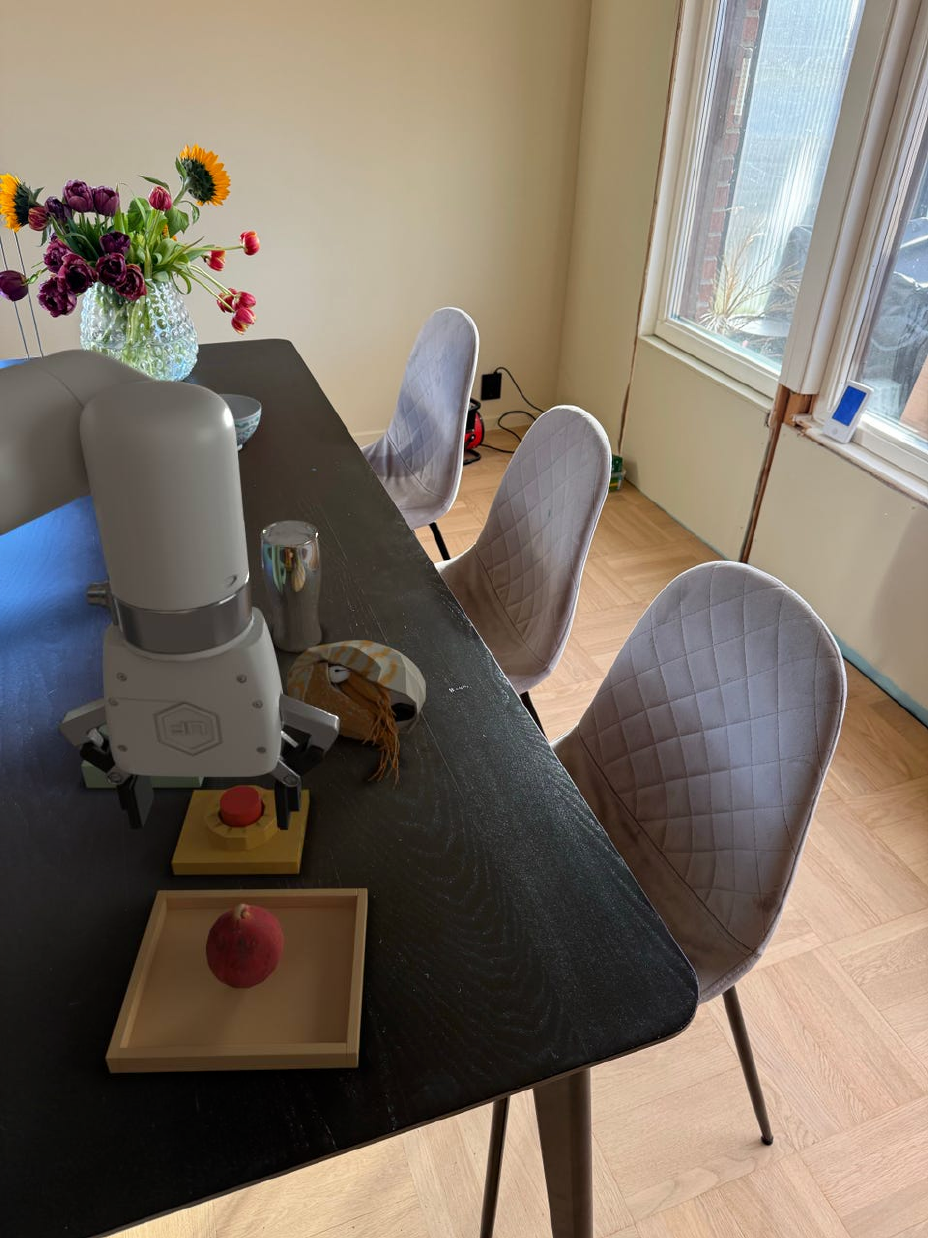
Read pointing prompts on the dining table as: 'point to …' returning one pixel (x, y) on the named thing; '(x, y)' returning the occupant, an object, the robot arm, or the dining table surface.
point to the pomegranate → (244, 946)
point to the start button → (240, 806)
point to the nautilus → (361, 691)
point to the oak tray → (245, 1017)
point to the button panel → (238, 839)
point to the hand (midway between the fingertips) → (215, 814)
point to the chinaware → (243, 415)
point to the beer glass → (292, 582)
